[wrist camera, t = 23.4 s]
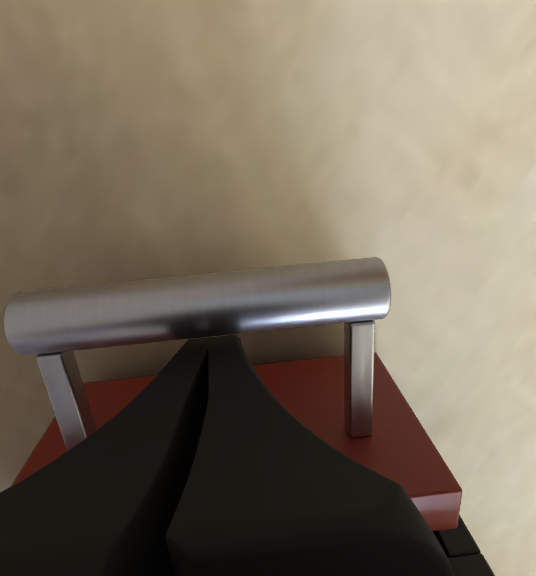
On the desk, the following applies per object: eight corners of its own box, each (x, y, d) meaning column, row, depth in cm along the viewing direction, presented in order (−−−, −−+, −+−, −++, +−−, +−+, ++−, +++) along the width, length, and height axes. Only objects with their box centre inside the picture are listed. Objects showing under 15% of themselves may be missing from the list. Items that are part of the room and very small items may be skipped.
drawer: (34, 250, 12) (-134, 351, 6) (380, 218, 12) (493, 289, 7) (145, 612, 18) (106, 813, 13) (369, 582, 19) (423, 766, 13)
